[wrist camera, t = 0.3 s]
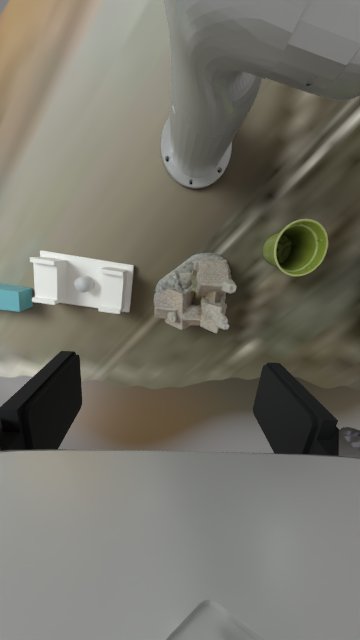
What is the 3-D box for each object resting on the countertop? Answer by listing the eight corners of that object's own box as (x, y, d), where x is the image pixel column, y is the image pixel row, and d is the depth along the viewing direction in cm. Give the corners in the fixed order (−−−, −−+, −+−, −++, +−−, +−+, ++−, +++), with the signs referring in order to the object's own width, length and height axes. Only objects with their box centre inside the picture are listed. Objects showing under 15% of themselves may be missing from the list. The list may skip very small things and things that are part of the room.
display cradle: (43, 250, 42) (23, 250, 36) (134, 265, 43) (128, 267, 38) (44, 299, 45) (26, 306, 39) (129, 311, 46) (124, 319, 41)
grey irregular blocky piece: (238, 260, 44) (264, 266, 30) (214, 329, 50) (226, 362, 35) (167, 239, 43) (158, 236, 29) (150, 312, 48) (136, 340, 34)
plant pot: (264, 219, 42) (287, 211, 34) (305, 232, 43) (338, 227, 35) (248, 265, 45) (266, 268, 37) (287, 276, 46) (313, 282, 38)
